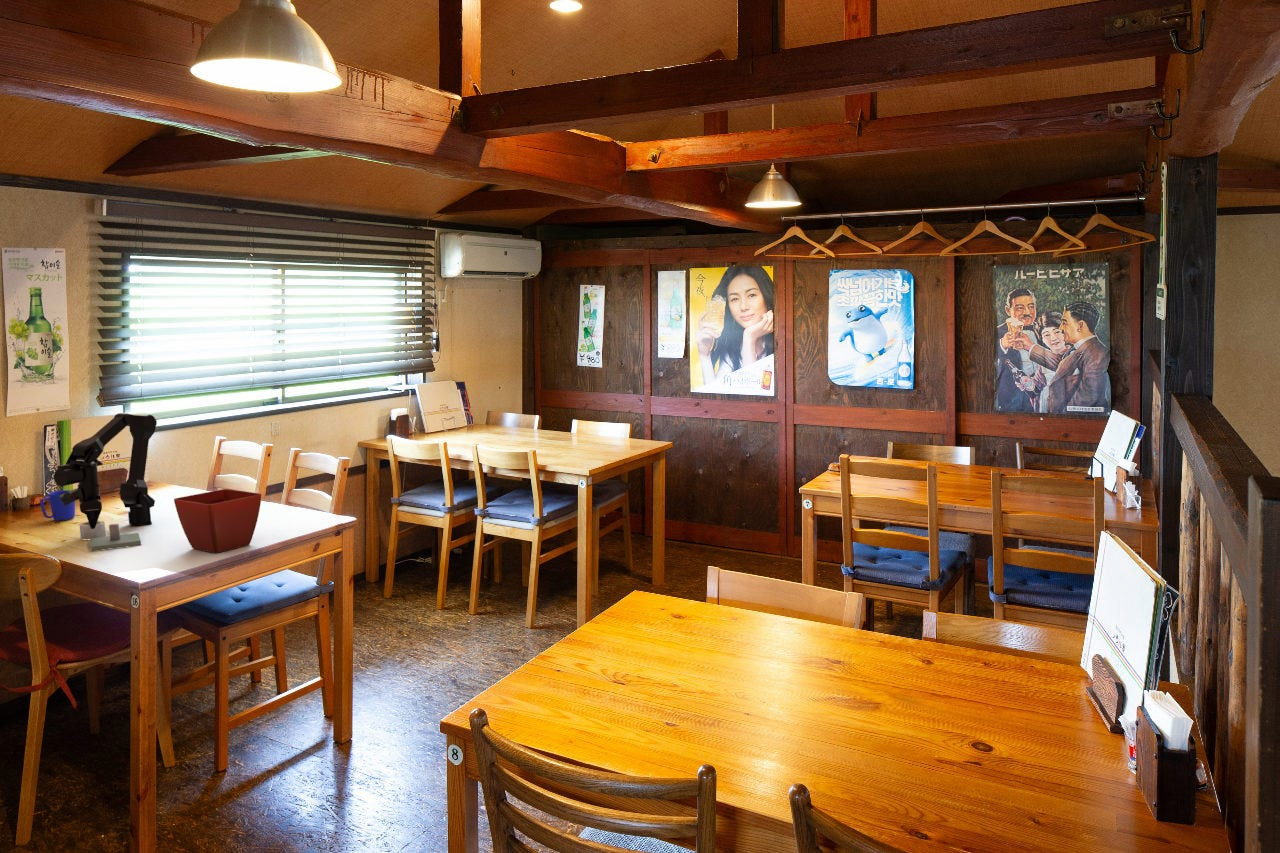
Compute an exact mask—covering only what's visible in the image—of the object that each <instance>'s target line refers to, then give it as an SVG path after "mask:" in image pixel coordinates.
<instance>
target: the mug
mask: <svg viewBox="0 0 1280 853" xmlns="http://www.w3.org/2000/svg"><path fill="white" fill-rule="evenodd" d="M68 491H71V489H70V490H69V489H68V490H57V491H52V492H49V493H48V497H44V498H43V497H42V498H40V499H39V503H40V504H39V505H40V508H41V512H42V515H43V517H44V518H46V519H52V518H53V520H54V521H57V520H63V521H68V519H69V520H72V519H74V518H75V517H76V501H73V502H71V503H69V504H68V505H65V506H64V504H63V503H62V501H61V499H60V495H62V494H64V493H66V492H68ZM46 500H47V501H48V500H49V505H50V510H51V514H52V515H50V516H48V514H47V511H46V509H45V504H44V502H45V501H46Z"/></svg>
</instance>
